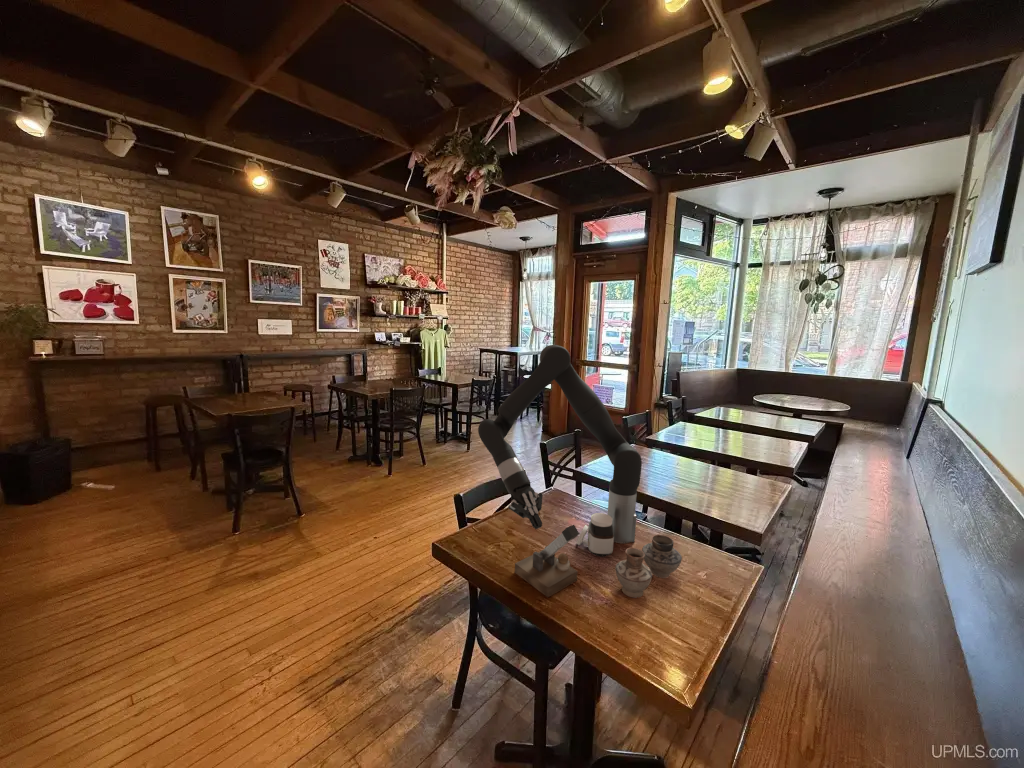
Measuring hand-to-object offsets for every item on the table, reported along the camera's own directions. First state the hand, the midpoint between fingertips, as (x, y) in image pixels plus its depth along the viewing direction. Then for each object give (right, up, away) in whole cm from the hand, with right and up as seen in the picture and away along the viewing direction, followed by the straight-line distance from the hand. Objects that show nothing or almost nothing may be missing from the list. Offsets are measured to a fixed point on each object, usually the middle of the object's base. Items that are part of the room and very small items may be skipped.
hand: (539, 527), depth 121 cm
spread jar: (+19, -13, +15) cm, 27 cm away
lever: (+1, -8, 0) cm, 8 cm away
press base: (+1, -14, +1) cm, 14 cm away
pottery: (+32, -16, -1) cm, 35 cm away
